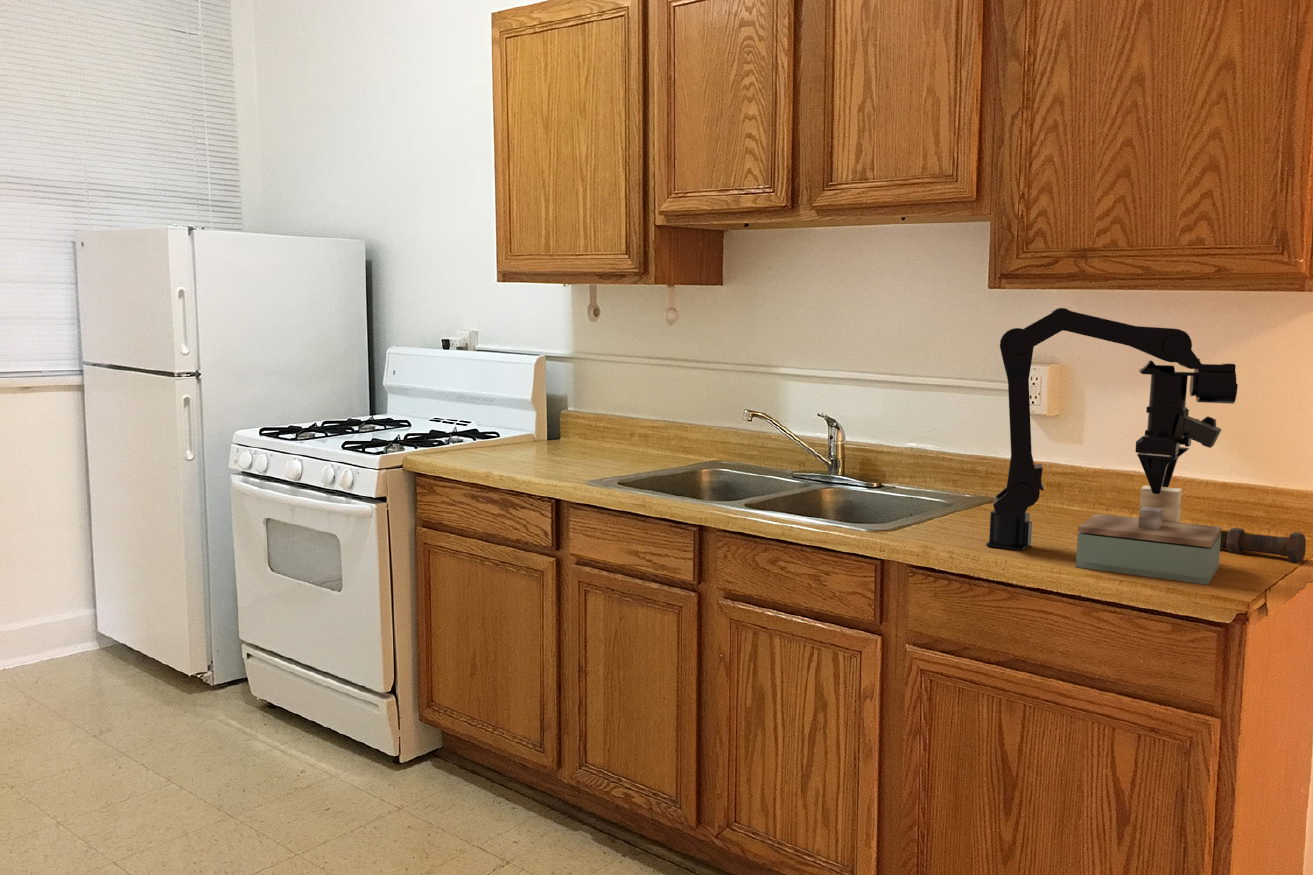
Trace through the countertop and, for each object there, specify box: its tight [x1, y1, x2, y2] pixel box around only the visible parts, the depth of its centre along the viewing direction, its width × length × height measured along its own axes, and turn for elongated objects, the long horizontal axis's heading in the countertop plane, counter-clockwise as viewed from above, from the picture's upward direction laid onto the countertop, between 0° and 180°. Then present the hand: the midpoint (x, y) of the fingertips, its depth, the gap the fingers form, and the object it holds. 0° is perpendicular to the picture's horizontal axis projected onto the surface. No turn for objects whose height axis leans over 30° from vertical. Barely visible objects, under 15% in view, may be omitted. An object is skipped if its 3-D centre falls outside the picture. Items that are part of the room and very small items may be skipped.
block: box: [1138, 485, 1183, 523], centre depth 190 cm, size 6×4×6 cm, turn 57°
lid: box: [1077, 506, 1223, 547], centre depth 182 cm, size 20×14×4 cm
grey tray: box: [1075, 532, 1221, 585], centre depth 185 cm, size 20×20×6 cm
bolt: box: [1220, 527, 1307, 564], centre depth 194 cm, size 6×5×15 cm
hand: (1160, 490), depth 189 cm, fingers open, 9 cm apart
